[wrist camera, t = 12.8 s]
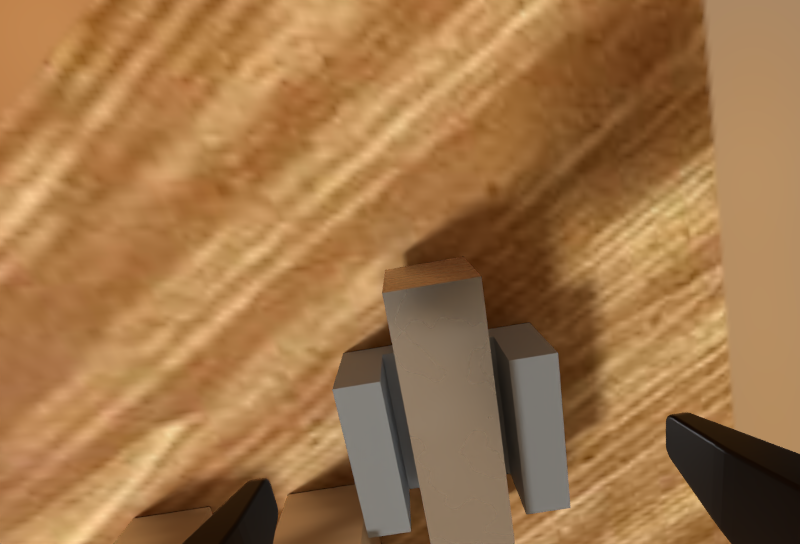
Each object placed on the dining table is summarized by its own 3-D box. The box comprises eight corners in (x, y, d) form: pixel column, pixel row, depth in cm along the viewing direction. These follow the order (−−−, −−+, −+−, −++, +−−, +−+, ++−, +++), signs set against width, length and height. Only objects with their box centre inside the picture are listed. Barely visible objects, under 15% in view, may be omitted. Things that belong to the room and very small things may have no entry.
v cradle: (529, 322, 17) (557, 352, 14) (542, 455, 18) (570, 507, 15) (343, 353, 17) (332, 389, 14) (372, 481, 18) (368, 538, 16)
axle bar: (385, 270, 15) (382, 293, 12) (463, 256, 15) (481, 276, 12) (433, 526, 18) (441, 598, 15) (498, 516, 18) (520, 586, 15)
